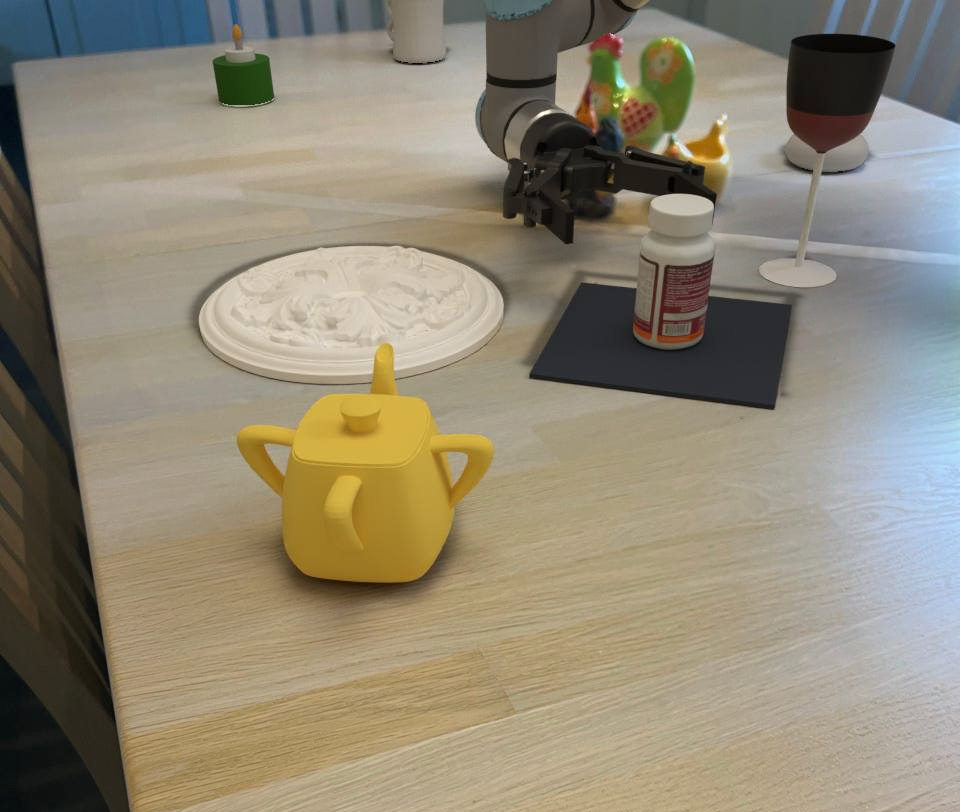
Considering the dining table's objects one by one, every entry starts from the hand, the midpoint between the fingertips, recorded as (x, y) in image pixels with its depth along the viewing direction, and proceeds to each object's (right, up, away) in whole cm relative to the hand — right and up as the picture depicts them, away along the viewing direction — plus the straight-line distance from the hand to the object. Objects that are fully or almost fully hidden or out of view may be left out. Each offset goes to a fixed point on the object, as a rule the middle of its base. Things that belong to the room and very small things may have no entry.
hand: (641, 219), depth 89 cm
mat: (+2, -11, 0) cm, 11 cm away
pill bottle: (+2, -10, 0) cm, 11 cm away
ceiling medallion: (-26, -7, +6) cm, 27 cm away
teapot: (-21, -30, -21) cm, 43 cm away
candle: (-50, +45, +64) cm, 93 cm away
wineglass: (+17, -1, +12) cm, 21 cm away
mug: (-26, +63, +85) cm, 109 cm away
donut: (+29, +23, +38) cm, 53 cm away
